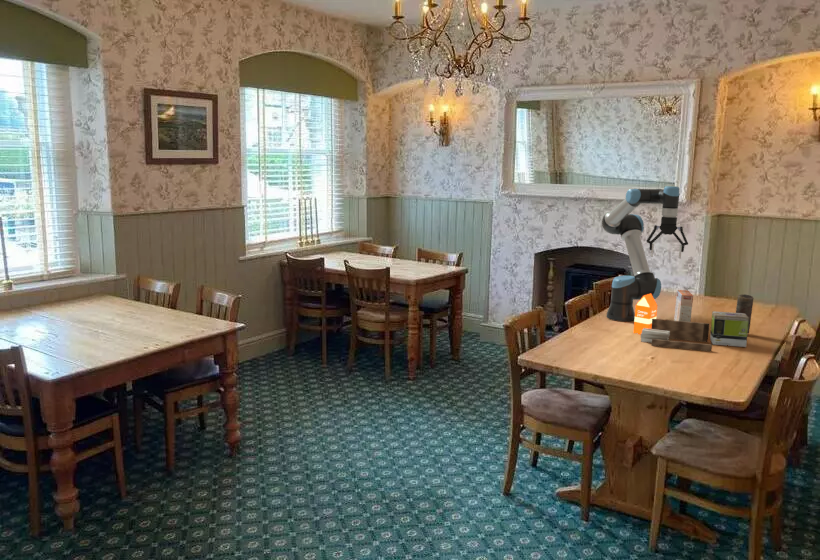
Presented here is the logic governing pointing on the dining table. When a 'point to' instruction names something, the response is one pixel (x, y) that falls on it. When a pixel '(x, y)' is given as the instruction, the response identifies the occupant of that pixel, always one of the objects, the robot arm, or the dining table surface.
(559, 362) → the dining table surface
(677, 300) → the cracker box
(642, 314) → the orange juice
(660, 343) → the walnut rack
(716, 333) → the tea box
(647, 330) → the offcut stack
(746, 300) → the candle
